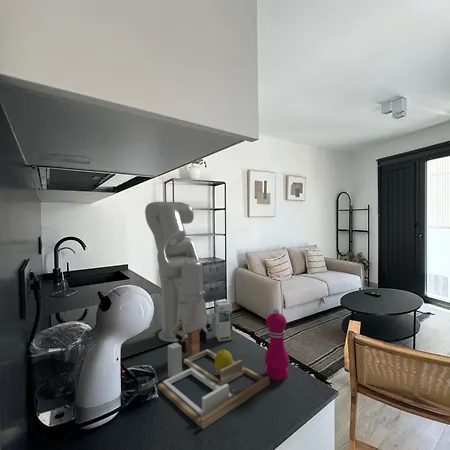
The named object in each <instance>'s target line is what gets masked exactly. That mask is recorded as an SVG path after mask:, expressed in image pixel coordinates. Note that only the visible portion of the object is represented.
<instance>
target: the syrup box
mask: <svg viewBox="0 0 450 450" xmlns="http://www.w3.org/2000/svg"><path fill="white" fill-rule="evenodd" d="M214 310H215V311H214V313H215V315H214V317H215V318H214V319H215V337H216V339H217V340H218V342H219V343H220V342H227V341H233V340H234V339H233V338H234V337H233V335H234V334H233V303H232V302H231V301H230V300H229V299H225V300H216V301H214Z"/></svg>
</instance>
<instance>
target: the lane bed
mask: <svg viewBox="0 0 450 450" xmlns="http://www.w3.org/2000/svg"><path fill="white" fill-rule="evenodd" d="M234 362H236V361H234V360H233V363H234ZM242 368H243V369H245V373H244V374H245V375H247V376H249V377H250V378H251V379H253V380H256V382H255V383H253V384H252V385H250V386H249V387H247V388H245V389H244V390H242V391H241V392H239V393H237V394H236V395H235V394H233V393H232V392H231V391H229V393H230V394H231V395H232V398H231V399H230V400H228V401H227V402H225V403H223V404H222V405H220V406H219V407H217V408H216V409H214V410H212V411H211V412H209V413H208V414H206V415H205V416H203V417H202V418H201V417H200V416H199V415H198V414H197V413H195V412H194V411H193V410H192V409H191V408H190V407H188V406H187V405H186V404H185V403H184V402H183V401H182V400H180V399H179V398H178V397H177V396H176V395H175V394H174V393H172V392H171V391H170V390H169V389H168V388H167V387H166V386H164V385H163V382H160V383H158V384H157V385H158V386H157V387H158V389H159V391H160V392H161V393H163V394H164V395H165V396H166V398H167V399H169V400H170V401H171V402H172V403H174V404H175V406H177V407H178V408H179V409H180V410H181V411H182V412H183V413H184V414H185V415H186V416H188V418H190V419H191V420H192V421H193V422H194V423H195V424H196V425H197V426H198V427H199V428H200V429H201V430H204V429H207V428H208V427H209V426H210V425H211V424H214V423H215V422H216V421H218V420H220V419H221V418H222V417H224V416H225V415H226V414H229V412H231V411H233V410H234V409H235V408H237V407H239V405H242V404H243V403H244V402H246V401H247V400H248V399H250V398H251V397H253V396H255V395H256V394H258V393H259V392H261V391H262V390H264V389H265V388H266V387H268V386H269V385H270V377H268V375H265V376H262V375H260V374H259V373H257V372H255V371H253V370H251V369H250V368H247V367H246V366H244V365H242ZM193 369H194V370H196V369H195V368H193ZM196 371H197V372H199V371H198V370H196ZM199 373H200V374H202V373H201V372H199ZM202 375H203V376H205V375H204V374H202ZM205 377H206V378H208V377H207V376H205ZM208 379H209V380H211V379H210V378H208ZM211 381H212V382H214V381H213V380H211ZM214 383H215V382H214ZM215 384H217V383H215ZM217 385H218V384H217ZM218 386H219V387H221V386H220V385H218Z"/></svg>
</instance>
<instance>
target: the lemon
mask: <svg viewBox="0 0 450 450" xmlns="http://www.w3.org/2000/svg"><path fill="white" fill-rule="evenodd" d="M216 354H217V355H216V357H215V359H214V367H215V371H216V372H217V373H218V374H219V375H220V370H221V369H223V368H225V367H227V366H228V365H230V364H232V363H233V361H234V360H233V356H232V353H231V352H230V351H229V350H226V349H225V348H224V349H221V350H219V351H218V352H217V353H216Z"/></svg>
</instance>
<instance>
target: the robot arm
mask: <svg viewBox="0 0 450 450" xmlns="http://www.w3.org/2000/svg"><path fill="white" fill-rule="evenodd" d="M144 215H145V220H146V224H147V226H148V228H149V229H150V231H151V233H152V235H153V236H154V237H153V238H154V242H155V246H156V250H157V253H156V254H157V255H156V256H157V257H156V259H157V260H156V261H157V265H158V275H159V279H160V280H159V281H160V287H161V313H162V314H161V320H162V322H160V326H161V327H162V328H161V329H162V330H161V331H159V333H158V339H159V340H161V341H163V342H166V343H178V344H180V345H181V346H182V353H183V354H186V353H187V333H190V332H193V331H196V330H199V344H202V345H204V346H206V345H207V340H208V339H207V334H208V333H209V329H210V327H211V324H212V321H213V318H212V317H211V316H209V315H207V314H208V312H207V306H206V302H205V299H204V295H206V292H205V290H204V280H203V277H204V275H203V274H204V272H203V271H204V270H203V263H202V262H201V260H200V258H199V257H200V256H199V254H198V252H197V251H198V250H197V248H196V245H195V244H194V241H193V240H192V239H191V238H190V237H186V235H187V233H186V229H185V226H184V224H185V225H186V224H191V223H193V221H194V217H195V216H194V215H195V214H194V210H193V208H192V206H191V205H190V204H188V203H184V202H181V201H153V202H150V203H148V204H147V205H146V206H145V210H144Z"/></svg>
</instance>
